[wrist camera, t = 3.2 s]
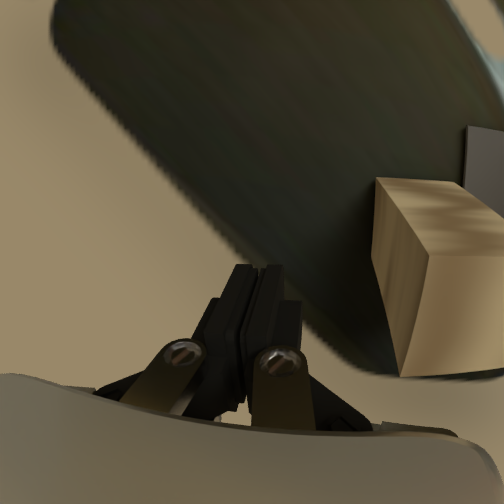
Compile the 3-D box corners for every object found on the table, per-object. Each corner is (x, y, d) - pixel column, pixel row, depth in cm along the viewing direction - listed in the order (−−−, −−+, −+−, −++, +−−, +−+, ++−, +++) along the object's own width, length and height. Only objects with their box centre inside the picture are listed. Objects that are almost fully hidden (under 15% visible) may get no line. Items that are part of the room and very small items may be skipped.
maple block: (453, 181, 16) (548, 257, 7) (442, 257, 18) (505, 367, 9) (375, 177, 17) (429, 255, 8) (370, 256, 19) (399, 377, 10)
